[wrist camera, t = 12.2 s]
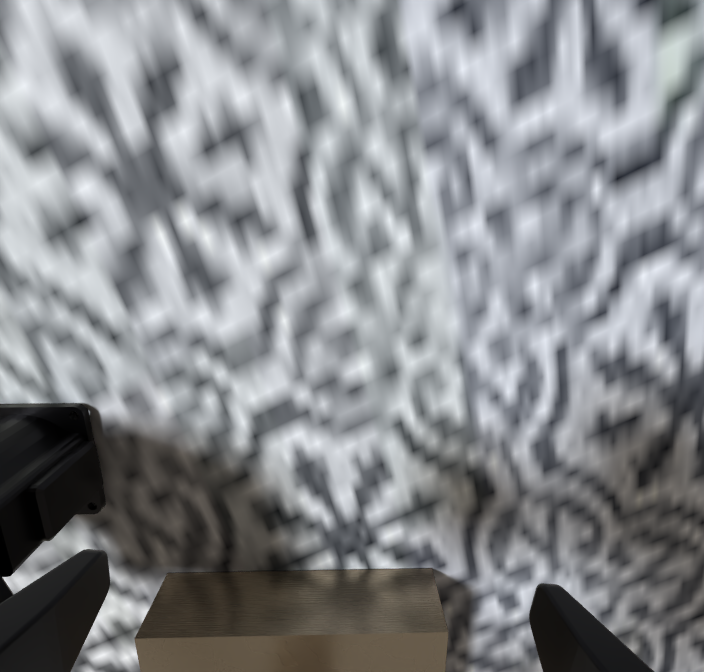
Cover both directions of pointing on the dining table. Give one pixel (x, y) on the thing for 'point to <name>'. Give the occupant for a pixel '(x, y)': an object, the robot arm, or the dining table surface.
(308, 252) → the dining table surface
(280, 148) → the dining table surface
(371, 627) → the grey square block
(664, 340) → the dining table surface
